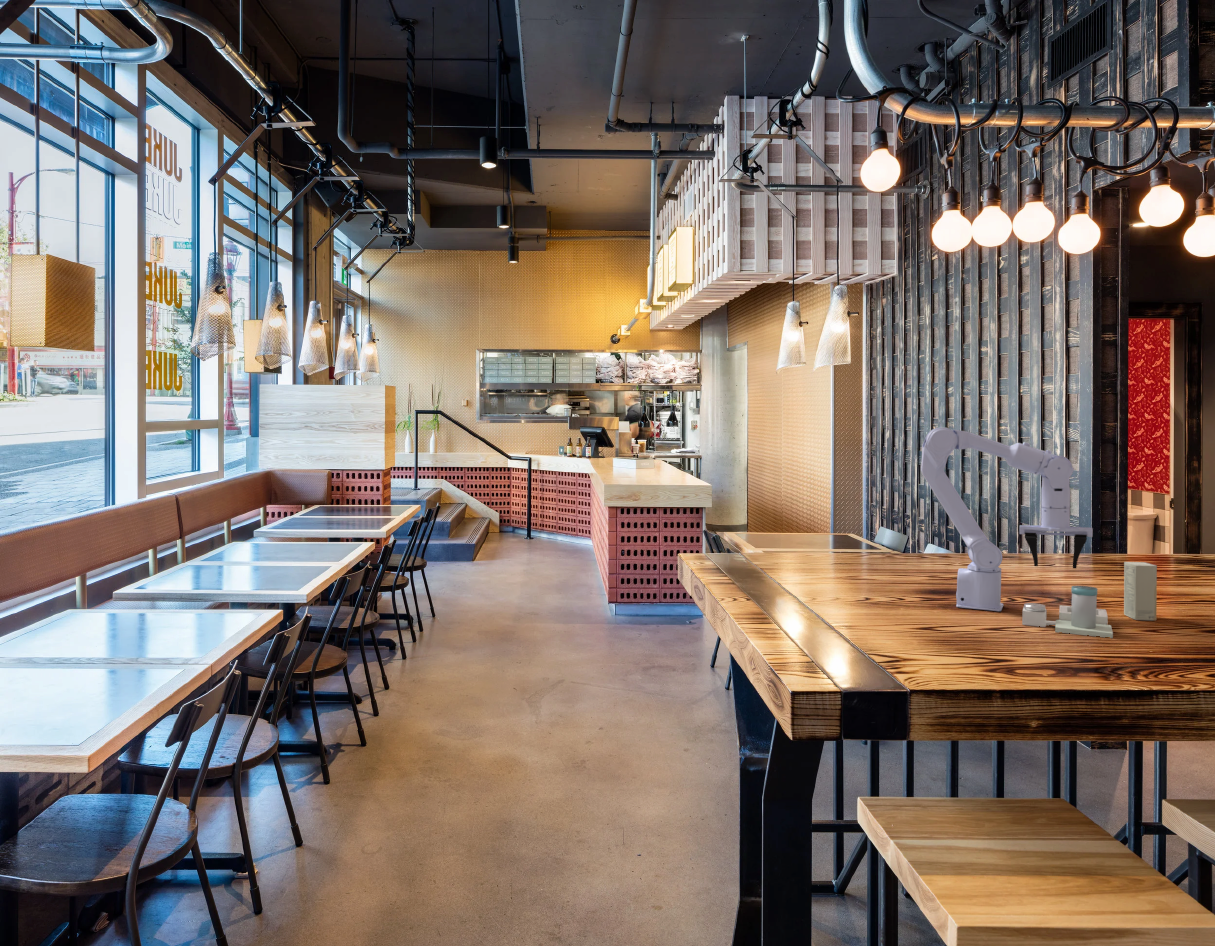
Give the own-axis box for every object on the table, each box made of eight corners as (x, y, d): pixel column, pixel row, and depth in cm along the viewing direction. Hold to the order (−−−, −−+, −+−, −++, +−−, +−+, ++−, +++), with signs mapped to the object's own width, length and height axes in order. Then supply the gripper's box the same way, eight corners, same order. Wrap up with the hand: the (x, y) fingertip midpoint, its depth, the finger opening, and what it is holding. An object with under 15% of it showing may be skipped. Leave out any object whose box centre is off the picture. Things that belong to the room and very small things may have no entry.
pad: (1055, 632, 164) (1055, 627, 164) (1055, 624, 171) (1055, 619, 171) (1112, 638, 159) (1112, 633, 159) (1110, 630, 166) (1111, 625, 166)
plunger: (1023, 622, 170) (1023, 605, 170) (1024, 618, 174) (1024, 602, 174) (1044, 624, 168) (1045, 607, 168) (1045, 620, 172) (1045, 604, 172)
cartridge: (1070, 627, 164) (1071, 588, 164) (1070, 622, 168) (1071, 584, 168) (1096, 629, 162) (1097, 590, 161) (1096, 625, 166) (1097, 586, 165)
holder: (1022, 624, 170) (1022, 610, 170) (1025, 612, 182) (1025, 599, 182) (1108, 633, 162) (1108, 619, 162) (1105, 620, 174) (1106, 607, 174)
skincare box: (1156, 621, 174) (1158, 566, 173) (1134, 620, 175) (1136, 565, 174) (1143, 615, 180) (1145, 561, 180) (1121, 614, 181) (1123, 561, 180)
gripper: (1018, 508, 182) (1018, 567, 183) (1093, 509, 175) (1092, 571, 176) (1020, 505, 189) (1020, 562, 189) (1092, 507, 181) (1091, 566, 182)
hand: (1055, 566), depth 183 cm, fingers open, 7 cm apart
